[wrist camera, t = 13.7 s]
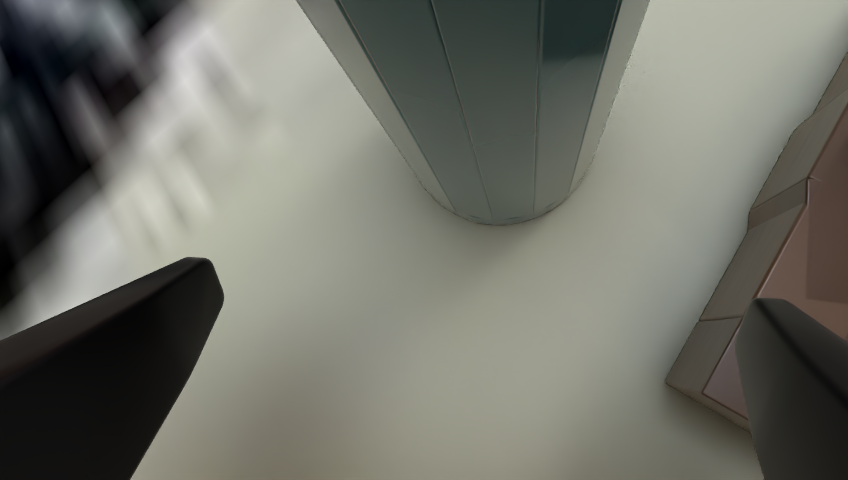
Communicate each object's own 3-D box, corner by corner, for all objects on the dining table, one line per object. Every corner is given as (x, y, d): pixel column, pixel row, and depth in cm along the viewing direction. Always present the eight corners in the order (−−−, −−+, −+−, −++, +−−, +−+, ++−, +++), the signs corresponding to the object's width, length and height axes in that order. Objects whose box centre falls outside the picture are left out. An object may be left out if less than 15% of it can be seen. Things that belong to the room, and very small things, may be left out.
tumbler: (612, 208, 16) (959, -339, 3) (422, 238, 17) (95, -76, 4) (576, 36, 17) (717, -843, 4) (403, 74, 18) (110, -548, 5)
